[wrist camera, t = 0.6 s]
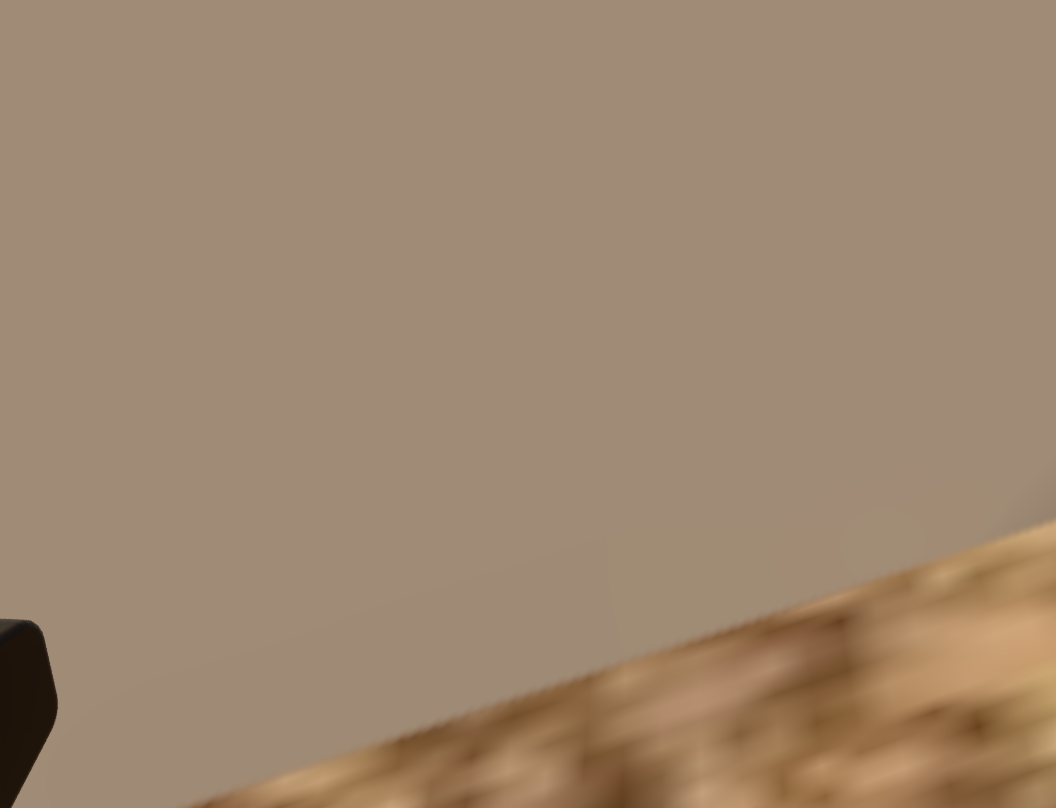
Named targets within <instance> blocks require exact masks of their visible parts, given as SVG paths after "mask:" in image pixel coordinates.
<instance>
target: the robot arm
mask: <svg viewBox="0 0 1056 808" xmlns="http://www.w3.org/2000/svg"><path fill="white" fill-rule="evenodd" d="M57 709H58V700H57V693H56V689H55V684H54V680H53V675H52V670H51V666H50V662H49V657H48V653H47V648H46V644H45V639H44V636H43V633H42V631H41V629H40V628H39V626H38V625H36V624H35V623H34V622H32V621H29V620H17V619H0V808H11V807H12V806H13V804H14V802H15V800H16V798H17V796H18V794H19V792H20V790H21V788H22V786H23V784H24V782H25V780H26V778H27V776H28V775H29V773H30V771H31V769H32V767H33V765H34V763H35V761H36V759H37V757H38V755H39V753H40V752H41V750H42V748H43V746H44V744H45V742H46V740H47V738H48V736H49V734H50V732H51V730H52V728H53V725H54V722H55V719H56V715H57Z"/></svg>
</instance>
